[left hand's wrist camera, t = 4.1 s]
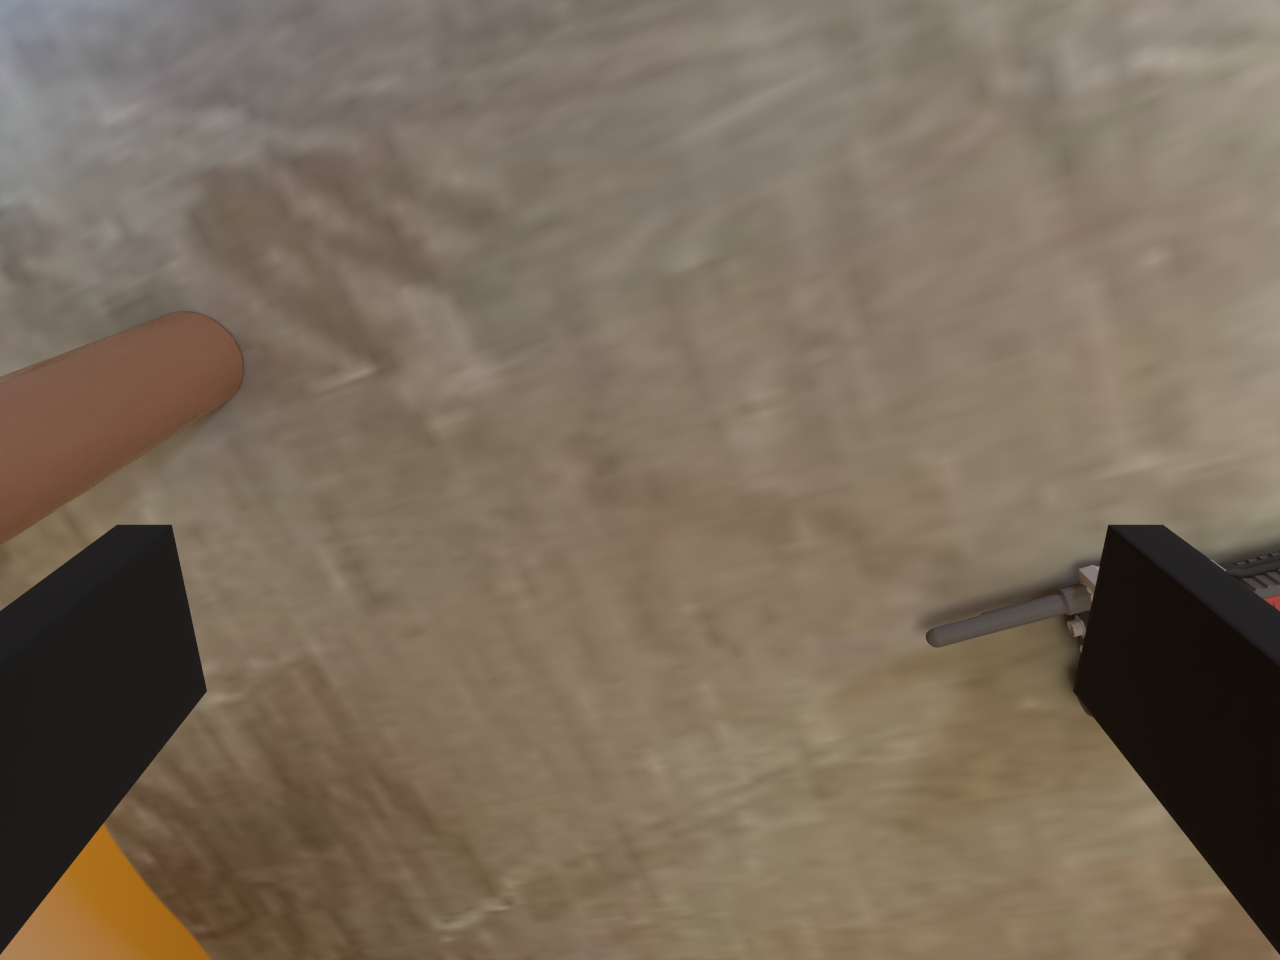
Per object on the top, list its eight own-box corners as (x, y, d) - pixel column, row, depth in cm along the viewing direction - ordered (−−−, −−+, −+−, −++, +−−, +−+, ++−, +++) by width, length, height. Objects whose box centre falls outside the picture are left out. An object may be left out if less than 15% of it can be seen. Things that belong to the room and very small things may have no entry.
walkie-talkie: (1327, 494, 42) (914, 607, 44) (1402, 533, 38) (942, 655, 40) (1333, 645, 45) (946, 744, 47) (1403, 696, 41) (976, 802, 43)
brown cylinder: (192, 426, 41) (-172, 660, 23) (122, 347, 40) (-327, 527, 21) (264, 374, 40) (-53, 573, 22) (194, 291, 39) (-208, 429, 20)
